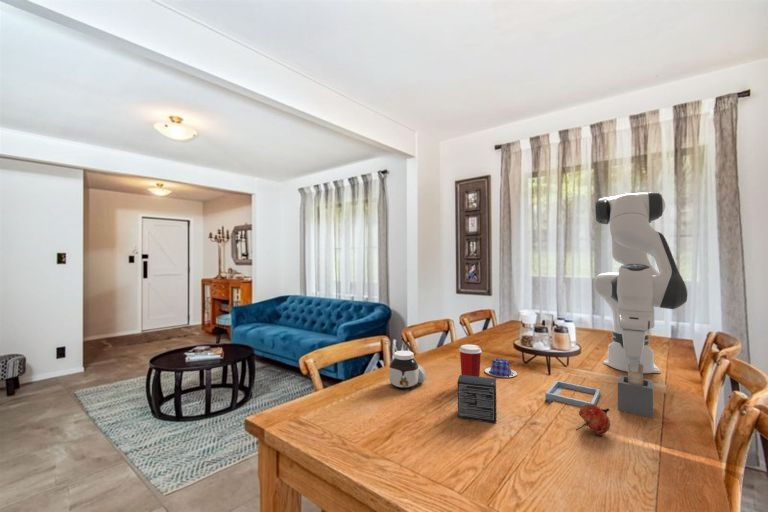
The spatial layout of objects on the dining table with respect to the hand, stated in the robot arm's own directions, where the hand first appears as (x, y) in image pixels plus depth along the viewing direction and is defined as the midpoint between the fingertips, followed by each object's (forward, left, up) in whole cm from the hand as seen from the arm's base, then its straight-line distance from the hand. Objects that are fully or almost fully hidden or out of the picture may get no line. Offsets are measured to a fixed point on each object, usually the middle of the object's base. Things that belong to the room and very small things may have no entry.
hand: (635, 367), depth 99 cm
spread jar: (+24, -64, -13) cm, 70 cm away
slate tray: (+1, -16, -13) cm, 21 cm away
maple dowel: (0, 0, -12) cm, 12 cm away
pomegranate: (+21, -8, -13) cm, 26 cm away
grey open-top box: (0, 0, -13) cm, 13 cm away
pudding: (-9, -43, -14) cm, 46 cm away
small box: (+31, -35, -13) cm, 48 cm away
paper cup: (+12, -46, -13) cm, 49 cm away
